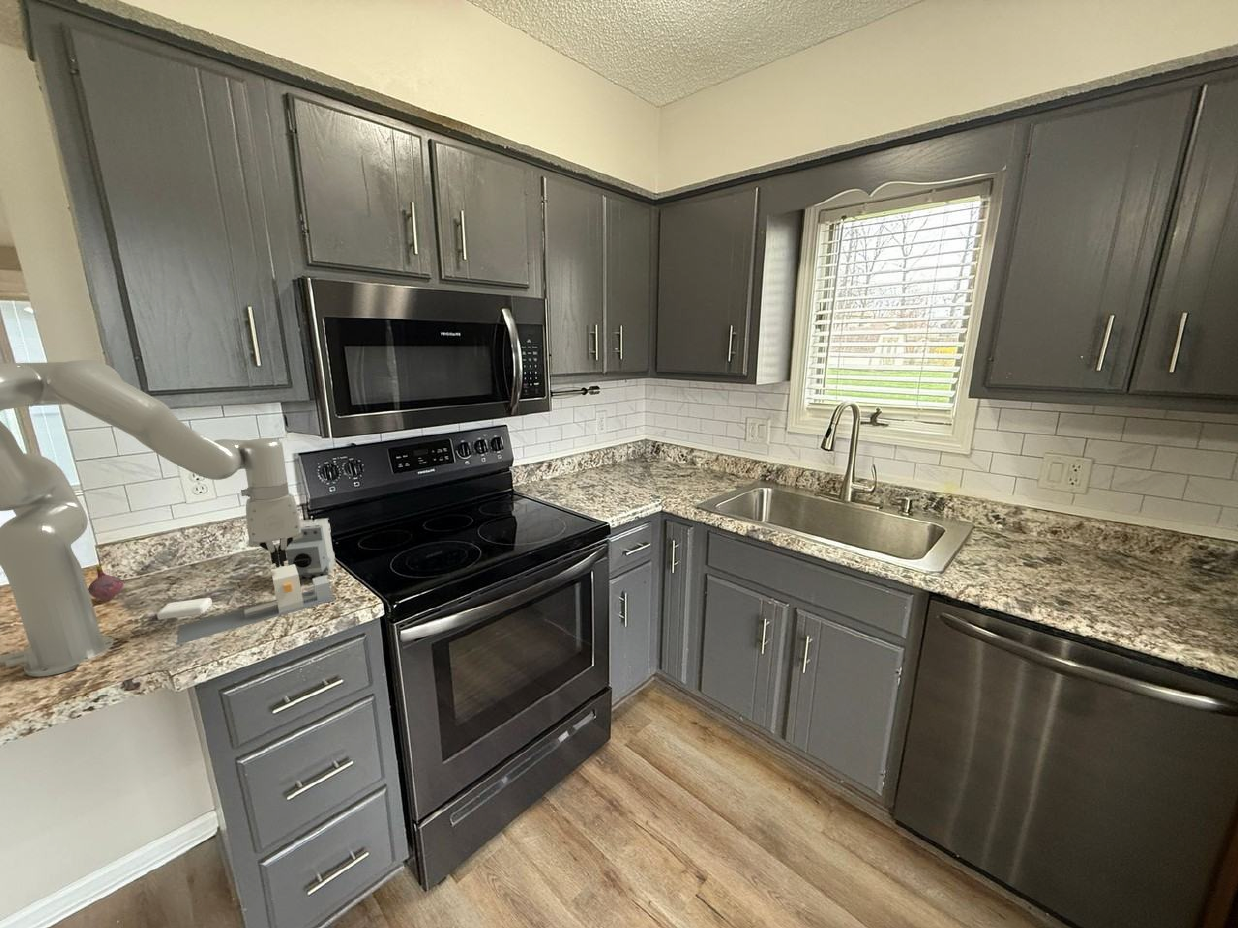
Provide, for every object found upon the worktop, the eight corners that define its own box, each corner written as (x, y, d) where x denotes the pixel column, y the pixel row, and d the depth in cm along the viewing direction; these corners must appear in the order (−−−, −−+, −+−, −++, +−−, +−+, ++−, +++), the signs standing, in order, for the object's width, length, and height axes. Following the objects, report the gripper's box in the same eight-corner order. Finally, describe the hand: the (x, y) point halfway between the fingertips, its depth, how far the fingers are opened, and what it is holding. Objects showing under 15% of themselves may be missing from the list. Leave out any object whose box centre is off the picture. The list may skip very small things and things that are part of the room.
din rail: (245, 618, 115) (244, 613, 115) (245, 614, 117) (244, 609, 117) (319, 597, 124) (318, 593, 124) (317, 594, 126) (317, 590, 126)
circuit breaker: (290, 591, 130) (280, 538, 126) (307, 569, 143) (299, 520, 140) (322, 587, 132) (313, 535, 128) (336, 566, 145) (328, 517, 142)
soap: (214, 607, 123) (211, 596, 122) (204, 618, 118) (201, 606, 117) (170, 613, 120) (167, 602, 120) (157, 625, 115) (154, 613, 115)
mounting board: (177, 648, 105) (176, 644, 105) (180, 629, 113) (179, 625, 113) (336, 603, 123) (335, 599, 123) (329, 588, 131) (328, 585, 131)
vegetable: (89, 602, 126) (79, 566, 124) (123, 592, 131) (113, 557, 128) (95, 609, 122) (84, 571, 120) (129, 598, 127) (119, 563, 125)
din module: (279, 615, 116) (273, 581, 114) (276, 601, 123) (270, 569, 121) (304, 608, 119) (298, 575, 117) (300, 594, 126) (294, 564, 124)
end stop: (317, 600, 123) (315, 585, 122) (314, 593, 127) (312, 578, 126) (331, 596, 125) (329, 582, 124) (328, 589, 129) (325, 575, 128)
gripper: (229, 500, 107) (241, 578, 111) (308, 490, 117) (318, 562, 120) (228, 493, 113) (240, 567, 117) (304, 483, 122) (313, 553, 126)
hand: (279, 564), depth 119 cm, fingers closed
